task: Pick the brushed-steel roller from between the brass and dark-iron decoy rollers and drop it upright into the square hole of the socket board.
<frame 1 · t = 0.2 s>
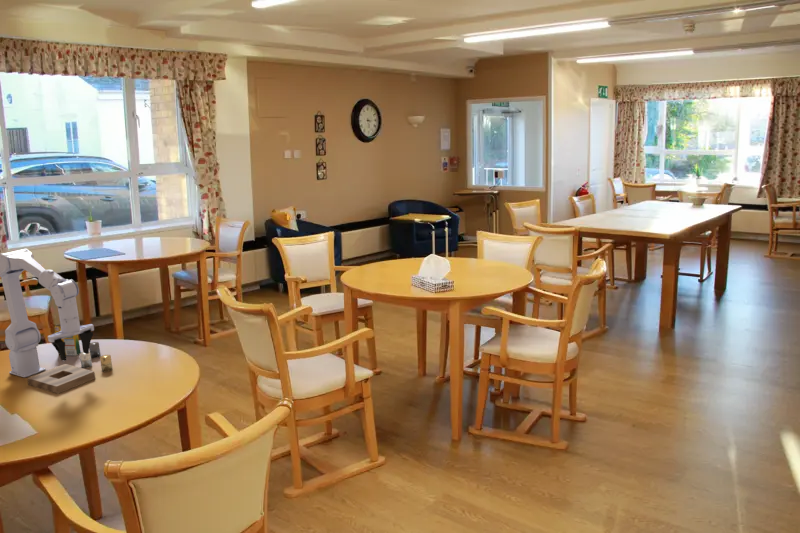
hand: (75, 356, 230), 10 cm above the table, fingers open, 7 cm apart
steel roller: (86, 366, 249), on the table
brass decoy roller: (107, 369, 244), on the table
crayon box: (69, 354, 261), on the table
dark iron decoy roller: (95, 356, 258), on the table
socket board: (62, 381, 235), on the table
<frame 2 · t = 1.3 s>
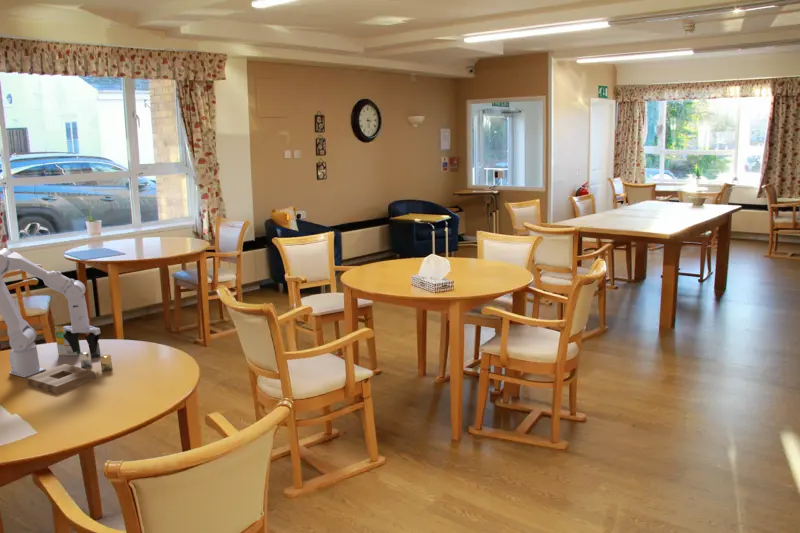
hand: (84, 352, 247), 5 cm above the table, fingers open, 7 cm apart
nothing on the table moved.
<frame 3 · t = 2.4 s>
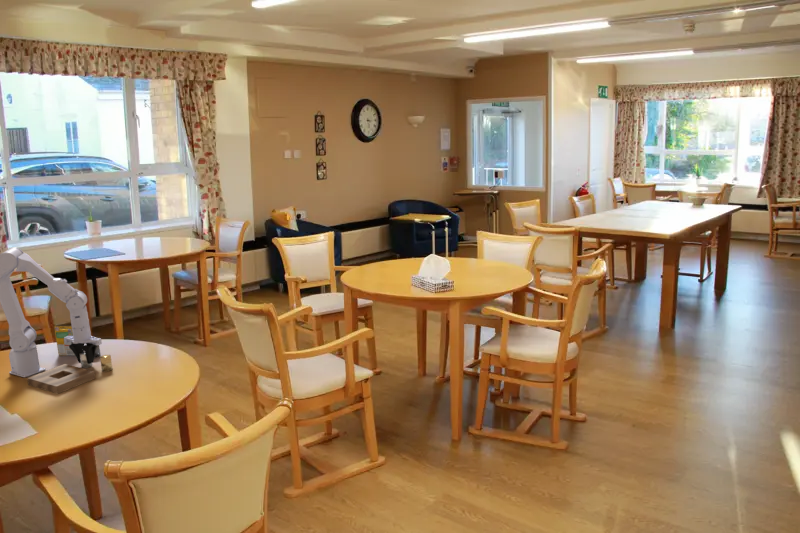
hand: (86, 362, 248), 1 cm above the table, fingers closed on steel roller, 3 cm apart
steel roller: (86, 366, 249), on the table, touching gripper
everything else where it was.
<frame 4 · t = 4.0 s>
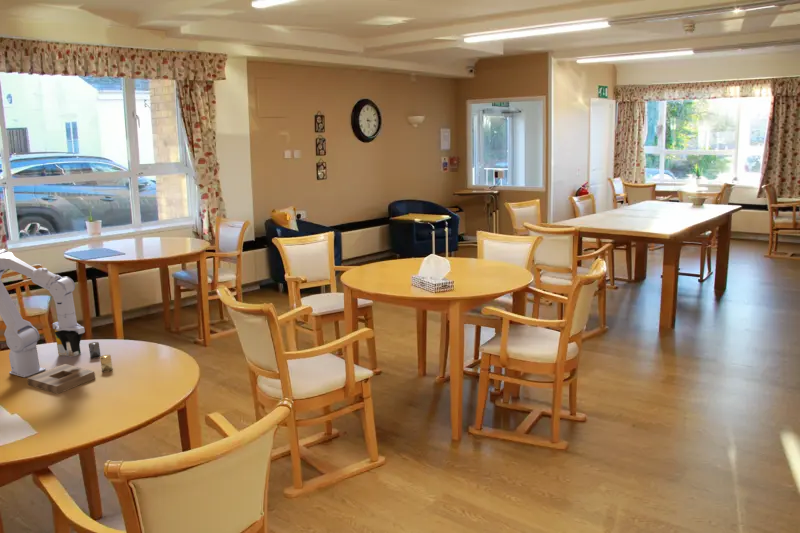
hand: (72, 350, 240), 8 cm above the table, fingers closed on steel roller, 3 cm apart
steel roller: (73, 354, 241), point 7 cm above the table, touching gripper
everything else where it was.
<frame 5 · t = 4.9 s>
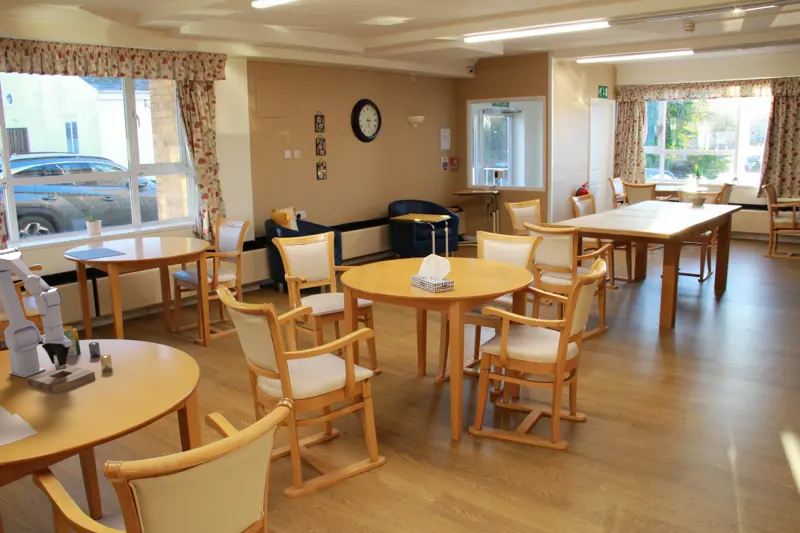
hand: (59, 363, 234), 6 cm above the table, fingers closed on steel roller, 3 cm apart
steel roller: (61, 368, 235), point 5 cm above the table, touching gripper
everything else where it was.
when the fingers open (3 cm above the table, at t = 5.7 s): steel roller drops 2 cm, resting in socket board.
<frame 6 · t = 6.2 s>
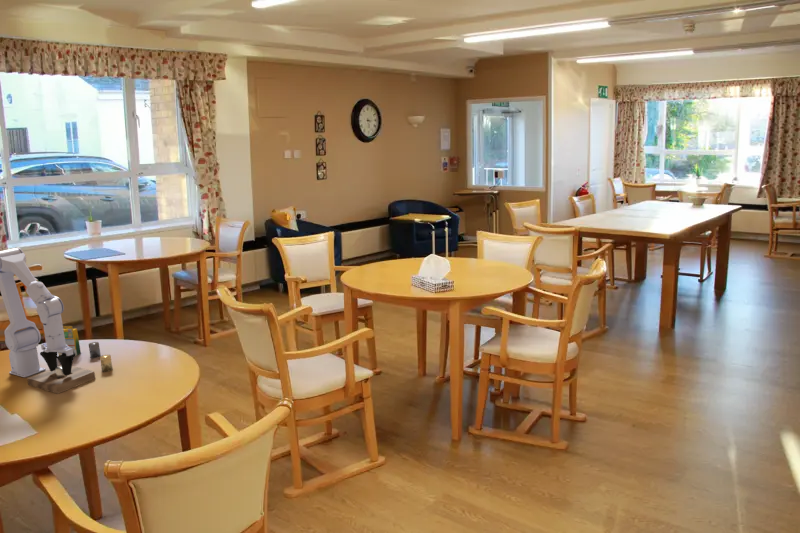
hand: (60, 372, 235), 3 cm above the table, fingers open, 7 cm apart
steel roller: (63, 381, 236), resting in socket board
everything else where it was.
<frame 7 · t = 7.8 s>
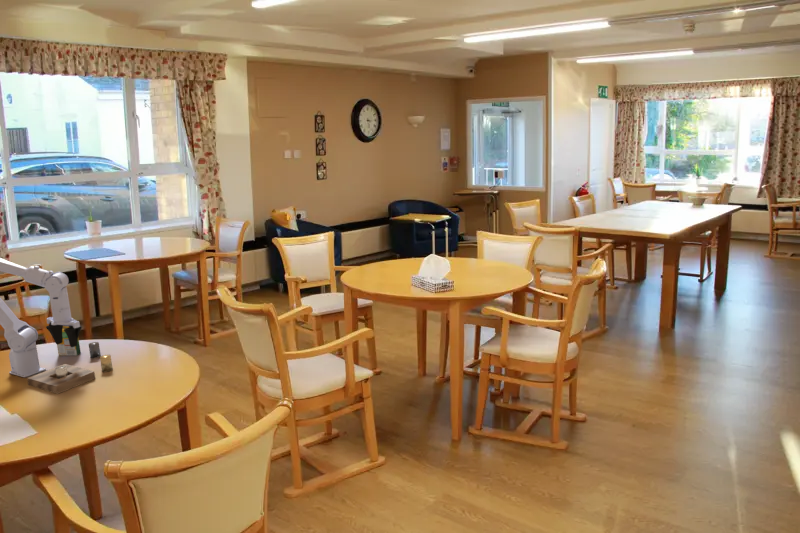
hand: (66, 344, 243), 9 cm above the table, fingers open, 7 cm apart
nothing on the table moved.
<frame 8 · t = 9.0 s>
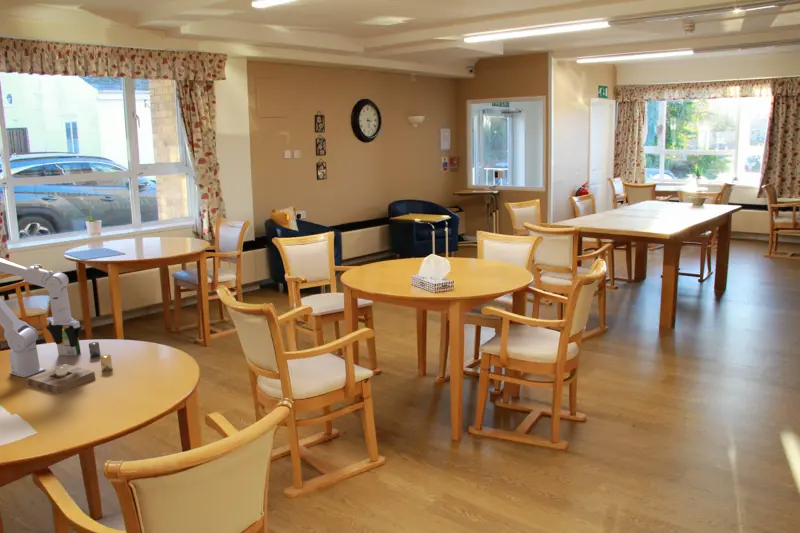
hand: (66, 344, 243), 9 cm above the table, fingers open, 7 cm apart
nothing on the table moved.
at the end: steel roller 0.4 cm off-centre on the socket board, point 0.0 cm above the socket board's base; steel roller tilted 0°; the gripper is holding nothing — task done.
